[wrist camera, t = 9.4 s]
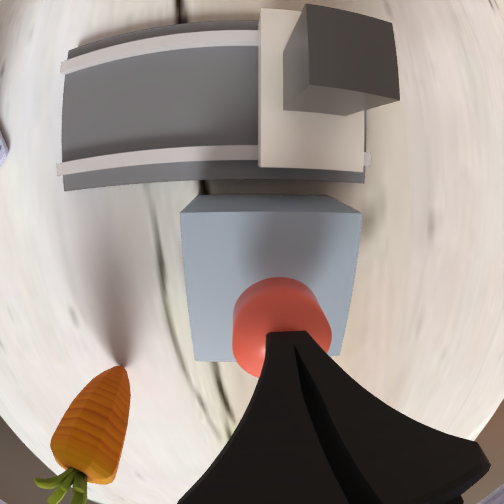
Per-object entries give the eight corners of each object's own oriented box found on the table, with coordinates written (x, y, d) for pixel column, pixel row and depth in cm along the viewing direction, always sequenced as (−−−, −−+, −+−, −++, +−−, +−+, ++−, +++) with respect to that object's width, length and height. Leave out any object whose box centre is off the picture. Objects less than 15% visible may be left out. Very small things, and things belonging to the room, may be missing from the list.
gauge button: (234, 350, 12) (233, 381, 10) (231, 277, 11) (230, 303, 9) (313, 346, 12) (324, 376, 10) (323, 275, 11) (338, 300, 9)
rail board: (71, 189, 16) (58, 193, 14) (75, 54, 12) (63, 48, 11) (357, 181, 17) (369, 184, 15) (355, 39, 13) (365, 30, 12)
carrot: (106, 382, 22) (53, 513, 8) (90, 342, 20) (12, 483, 6) (153, 389, 22) (116, 538, 8) (142, 347, 20) (81, 518, 6)
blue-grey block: (204, 311, 19) (195, 361, 14) (197, 195, 17) (179, 213, 12) (317, 308, 20) (339, 355, 15) (328, 195, 17) (362, 213, 12)
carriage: (257, 165, 14) (274, 174, 8) (258, 24, 11) (271, -50, 5) (348, 169, 14) (421, 185, 8) (345, 34, 12) (403, -20, 5)
